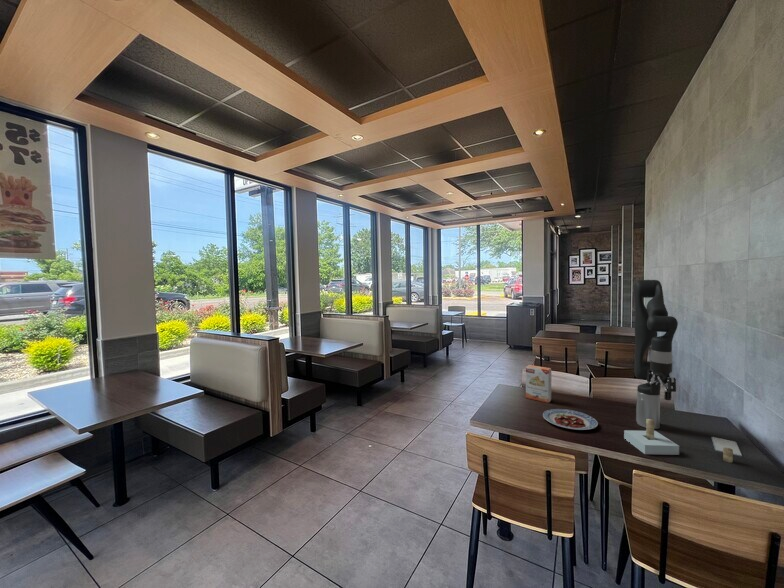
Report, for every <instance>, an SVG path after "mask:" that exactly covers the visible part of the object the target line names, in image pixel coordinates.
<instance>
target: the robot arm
mask: <svg viewBox="0 0 784 588" xmlns="http://www.w3.org/2000/svg"><path fill="white" fill-rule="evenodd" d="M633 292H634V293H633V295H634V307H635V308H634V309H635V313H634V340H635V341H634V343H635V344H634V345H635V346H634V347H635V349H634V350H635V351H634V365H633V371H634V374H633V375H634V376H635V378H637V379H638V380H639V379H640V380H646V381H647V382H646V383H641V384H639V385H637V388H636V389H637V390H636V391H637V393H636V394H637V395H636V396H637V399H636V401H637V402H636V404H635V407H636V408H635V413H636V414H635V422H636V423H637V425H638V426H641V427H643V428H646V419H652V420H654V430H657V429H658V430H659V429H660V426H661V417H660V416H661V387H663V389H664V400H666V401H671V400H672V393H673V392H674V393H675V392H677V383H676V382H677V381H676V377H671V376H670V374H671V373H672V372H673V350H672V349H673V339H674V337H675V334H676V331H677V329H678V327H679V326H678V325H679V321H678V320H677V318H676V317H674V316H673V315H672V316H671V315H669V312H668V309H667V307H666V305H665V300H664V299H665V297H664V291H663V286H662V282H661V281H660V280H657V279H637V280H635V282H634V284H633ZM643 298H646V299H648V298H649V299H650V298H651V299H650V300H649V301H648V302H647V304H646V306H645V304H644V300H643ZM658 332H659V333H660V332H661V333H665V334H662V335H660V336H659V335H658ZM649 348H651V349H650V357H649V358H650V360H649V361H647V360H644V356H645V354H646V352H647V351H648V349H649Z"/></svg>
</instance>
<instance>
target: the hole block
mask: <svg viewBox="0 0 784 588" xmlns="http://www.w3.org/2000/svg"><path fill="white" fill-rule="evenodd" d="M623 433H624V434H623V439H624V440H625V439H626V440H625V441H627V442H628V443H629V442H630V443H629V444H630V445H632V446H633V447H635V448H636V449H637V450H639V451H640V452H641V453H642V454H644V455H663V456H664V455H667V456H668V455H669V456H670V455H671V456H674V455H675V456H676V455H678V456H679V455H680V445H679V444H677V443H675V442H674V441H672V440H670V439H669V438H667V437H666V436H664V435H663V434H661V433H660V432H658V431H656V430H654V440H648V439H647V438H646V430H632V429H631V430H628V429H625V430H623Z"/></svg>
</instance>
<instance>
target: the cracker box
mask: <svg viewBox="0 0 784 588" xmlns="http://www.w3.org/2000/svg"><path fill="white" fill-rule="evenodd" d="M525 398H526V399H530V400H534V401H538V402H539V401H540V402H543V403H548V404H549V403H550V402H551V401H552V368H551V367H545V366H538V365H532V364H528V365H526V366H525Z"/></svg>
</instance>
